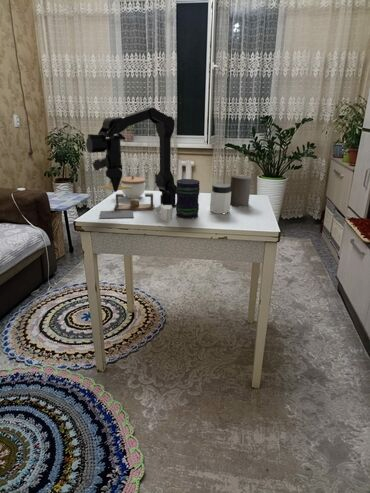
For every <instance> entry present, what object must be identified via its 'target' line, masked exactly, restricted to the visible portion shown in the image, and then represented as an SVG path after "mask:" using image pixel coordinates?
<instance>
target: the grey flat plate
mask: <svg viewBox="0 0 370 493" xmlns="http://www.w3.org/2000/svg"><path fill="white" fill-rule="evenodd" d="M98 219H99V220H100V219H101V220H105V219H107V220H108V219H113V220H114V219H134V211H133V210H126V211H115V210H101V211H100V212H99V218H98Z"/></svg>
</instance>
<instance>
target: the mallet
mask: <svg viewBox="0 0 370 493" xmlns="http://www.w3.org/2000/svg"><path fill="white" fill-rule="evenodd" d="M98 189H99V190H109V191H114V189H113V185H112V182H111V179H109V180H108V185H101V186H100V185H99V188H98ZM122 189H131V186H121V181H120V184H119V187H118V190H117V191H122Z"/></svg>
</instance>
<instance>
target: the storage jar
mask: <svg viewBox="0 0 370 493" xmlns="http://www.w3.org/2000/svg"><path fill="white" fill-rule="evenodd" d="M200 189H201V188H200V180H199V179H191V178H181V179H177V180H176V202H175V204H176V207H175V212H176V213H175V216H176V217H177V218H178V219H182V218H183V220H193V219H192V218H194V219H197V218H198V217H199V209H200V208H199V206H200V204H199V196H200ZM196 217H197V218H196Z"/></svg>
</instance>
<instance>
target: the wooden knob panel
mask: <svg viewBox="0 0 370 493" xmlns="http://www.w3.org/2000/svg"><path fill="white" fill-rule="evenodd" d="M144 196H145V198H150V203H140V198H130V200H129V202H130V203H129V204H125V203H124V204H120V203H119V198H124V197H125V195H124V193H115V204H114V211H126V210H133V212H135V211H153V210H154V209H155V208H156V207H155V204H154V193H149V192H147V193H144Z"/></svg>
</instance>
